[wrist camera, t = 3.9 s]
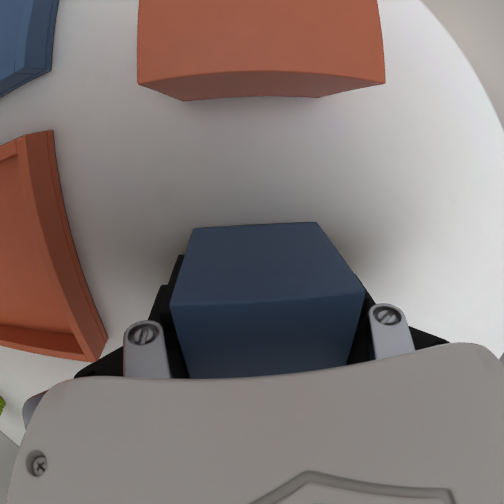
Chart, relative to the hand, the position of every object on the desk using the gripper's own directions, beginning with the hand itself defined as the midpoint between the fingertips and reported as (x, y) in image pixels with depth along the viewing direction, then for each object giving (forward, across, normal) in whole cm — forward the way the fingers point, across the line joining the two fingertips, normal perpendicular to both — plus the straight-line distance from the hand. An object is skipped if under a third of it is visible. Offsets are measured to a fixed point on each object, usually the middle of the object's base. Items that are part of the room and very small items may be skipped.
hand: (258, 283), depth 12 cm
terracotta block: (0, 0, -10) cm, 10 cm away
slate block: (0, 0, 0) cm, 0 cm away
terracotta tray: (0, +15, -2) cm, 15 cm away
